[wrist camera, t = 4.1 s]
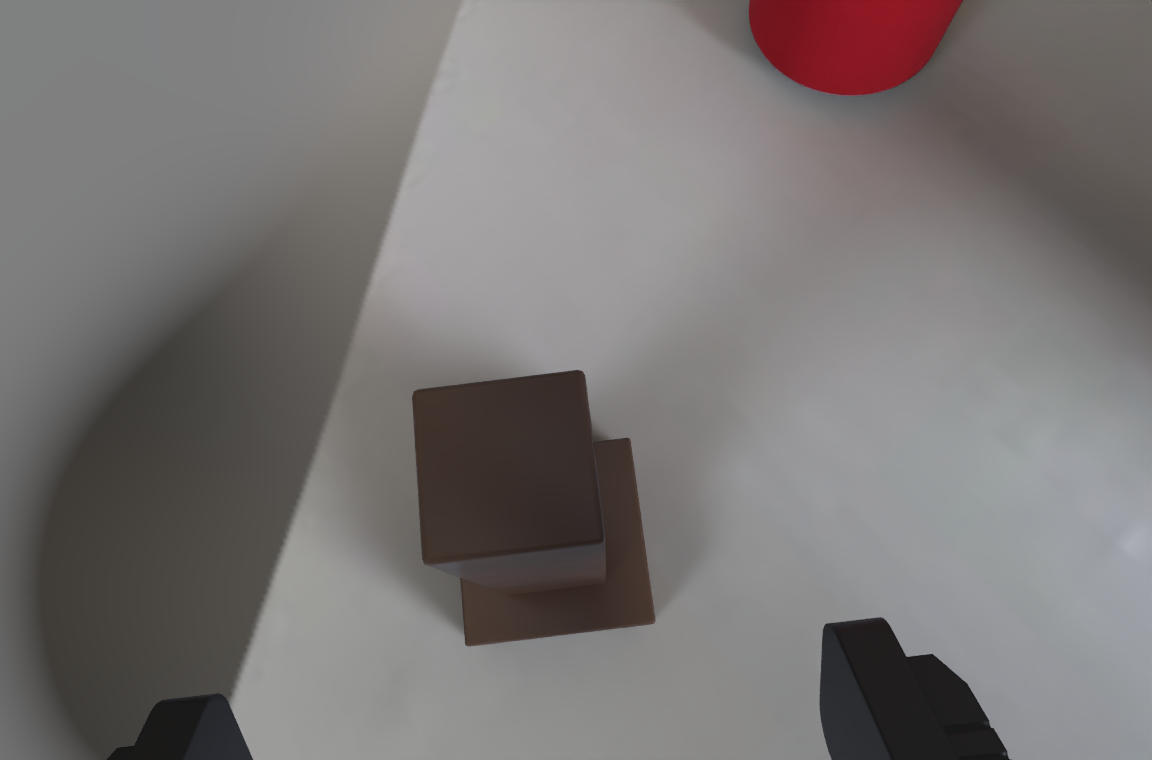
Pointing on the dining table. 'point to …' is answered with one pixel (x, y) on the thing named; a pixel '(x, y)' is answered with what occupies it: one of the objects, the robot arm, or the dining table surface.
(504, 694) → the dining table surface
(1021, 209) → the dining table surface
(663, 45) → the dining table surface
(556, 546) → the square wall hook
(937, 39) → the beverage can
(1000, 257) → the dining table surface
